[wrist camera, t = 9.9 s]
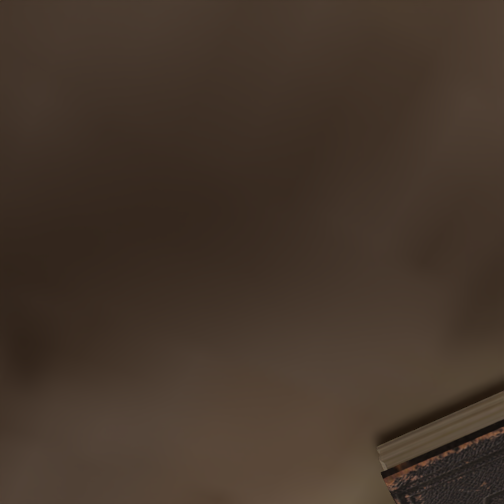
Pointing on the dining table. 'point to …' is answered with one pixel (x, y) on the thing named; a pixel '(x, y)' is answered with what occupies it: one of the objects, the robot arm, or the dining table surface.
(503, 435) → the hardcover book
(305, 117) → the dining table surface
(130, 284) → the dining table surface
